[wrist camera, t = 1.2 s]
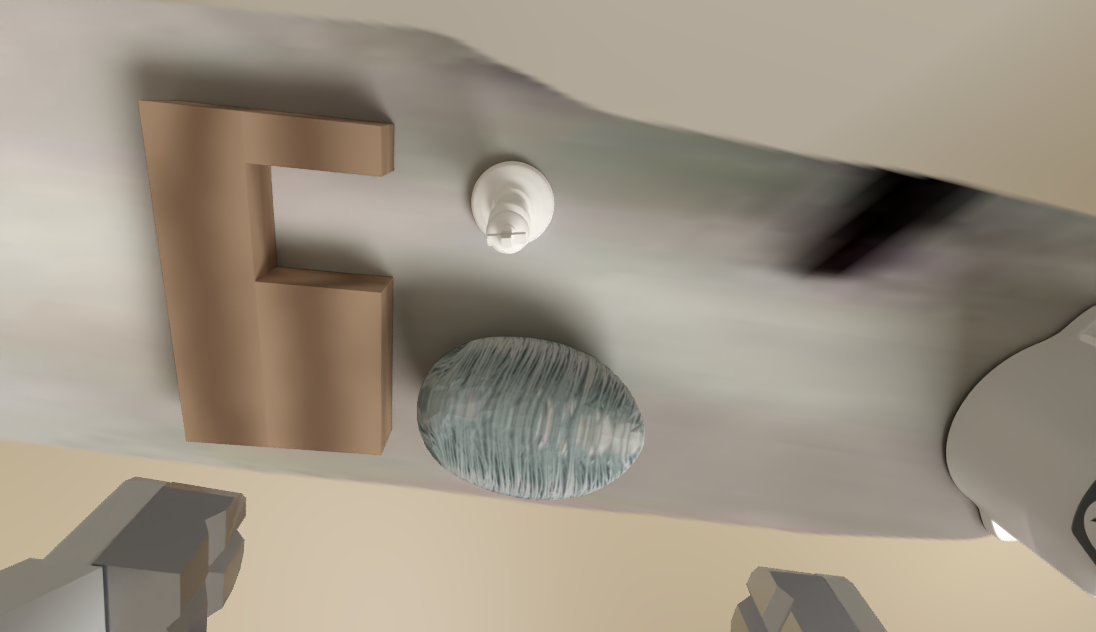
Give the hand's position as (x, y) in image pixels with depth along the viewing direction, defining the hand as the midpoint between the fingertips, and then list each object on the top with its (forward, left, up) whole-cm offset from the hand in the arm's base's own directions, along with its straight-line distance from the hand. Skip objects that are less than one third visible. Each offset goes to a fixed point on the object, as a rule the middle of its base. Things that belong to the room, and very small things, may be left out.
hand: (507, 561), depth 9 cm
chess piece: (+1, -1, -27) cm, 27 cm away
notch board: (+14, +5, -27) cm, 31 cm away
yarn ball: (-1, +11, -27) cm, 29 cm away
